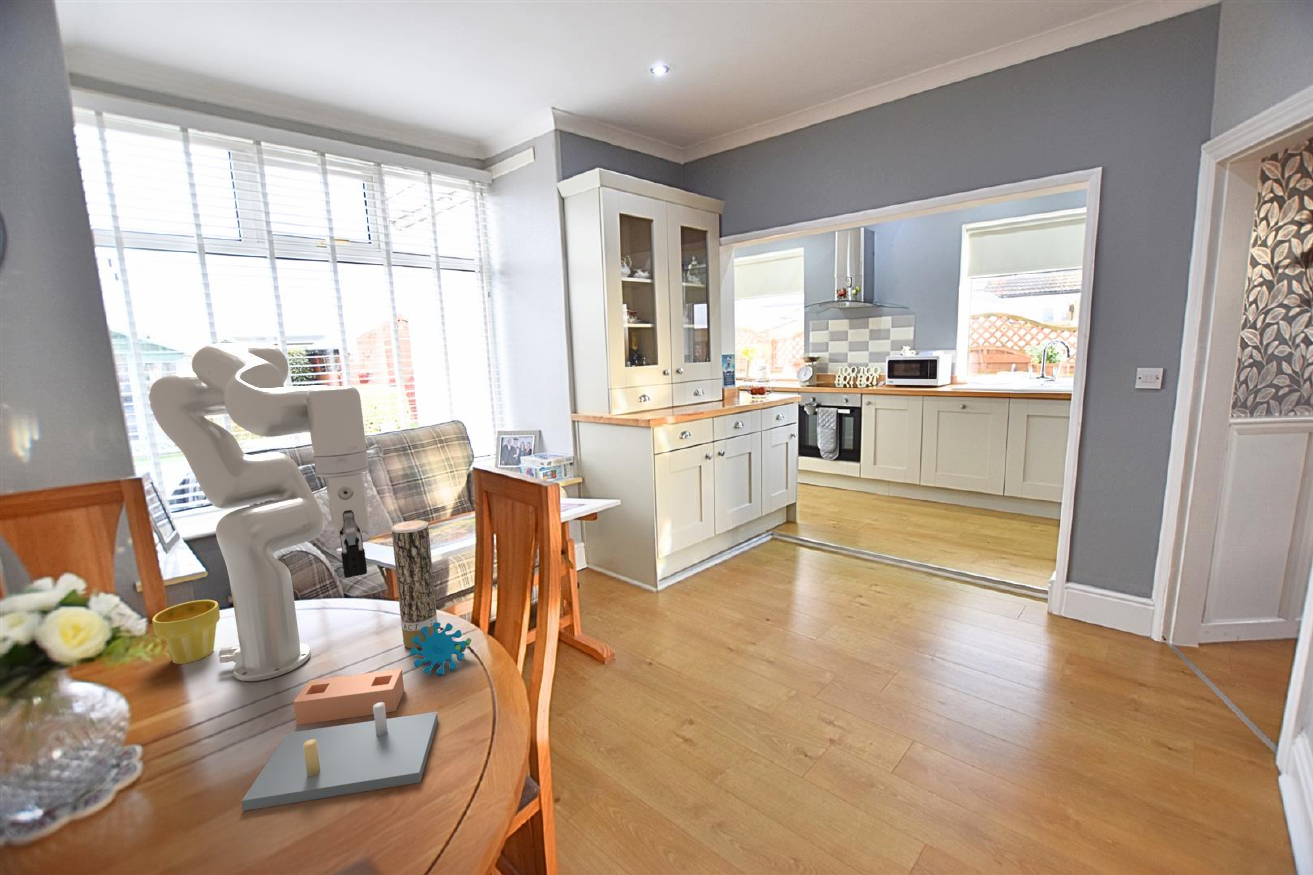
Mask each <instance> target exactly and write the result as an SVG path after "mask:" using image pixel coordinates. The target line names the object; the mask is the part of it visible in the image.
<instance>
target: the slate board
mask: <svg viewBox="0 0 1313 875" xmlns="http://www.w3.org/2000/svg"><path fill="white" fill-rule="evenodd" d="M373 711H374V714H373V717H374V720H370V721H363V722H354V723H347V724H341V725H334V726H327V727H326V726H325V727H320V728H313V729H305V730H299V731H292V732H291V731H290V732H287V733H286V734H285V736H284V737H283V739H282V740H281V741H280V743H279V744H278V746H277V747H276V749H275V751H274V752H273V754H272V755H271V756H270V758H269V759H268V761H267V762H266V764H265V765H264V767H263V769H262V770H261V771H260V773H259V774H258V776H257V777H256V779H255V780H254V781H253V783H252V785H251V786H250V787H249V789H248V790H247V792H246V793H245V795H244V797H243V798H242V799H241V807H242V811H243V812H245V811H251V810H257V809H264V808H269V807H270V808H271V807H276V806H282V805H289V804H294V803H301V802H308V801H314V800H319V799H325V798H326V799H327V798H332V797H338V796H343V795H344V796H345V795H349V794H350V795H351V794H355V793H356V794H357V793H362V792H368V791H374V790H382V789H386V788H393V787H400V786H405V785H412V784H417V783H421V781H422V777H423V774H424V770H425V767H426V765H427V764H426V763H427V760H428V756H429V752H430V749H431V747H432V746H431V745H432V742H433V740H434V735H435V733H436V728H437V724H438V721H439V719H438V718H439V717H438V711H433V712H432V711H431V712H426V713H419V714H413V715H406V716H405V715H404V716H398V717H390V718H387V713H386V712H385V703H383V702H380V703H377V704H375V705H374V706H373Z"/></svg>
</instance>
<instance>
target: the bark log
mask: <svg viewBox="0 0 1313 875" xmlns="http://www.w3.org/2000/svg"><path fill="white" fill-rule="evenodd" d="M428 523H429V522H428V521H426V520H419V519H418V520H408V521H402V522H398V523H396V524H394V525H392V526H391V535H392V545H393V546H392V547H393V556H394V564H395V565H394V566H395V573H396V574H395V576H396V585H397V594H398V603H399V605H398V606H399V613H400V623H401V624H400V626H401V631H402V632H401V633H402V641H403V645H404V646H405V647H406V648H409V649H411V648H412V647H415V648H416V649H417V650H418V649H422V648H421V647H420V646H419V645H418V644H414V643H412V639H413V638H414V637H415V636H416V635H418V636H419V637H420V641H421V642H425V637H424V635H423V634H422V633H421V628H423V627H426V626H427V627H428V632H427V635H429V636H430V635H432V634H433V624H434V622H438V614H437V605H436V604H437V603H436V602H437V601H436V594H435V582H434V581H435V580H434V574H433V573H434V572H433V571H434V570H433V560H432V549H431V540H430V529H429V524H428ZM436 632H437V633H439V629H437V630H436Z"/></svg>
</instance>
